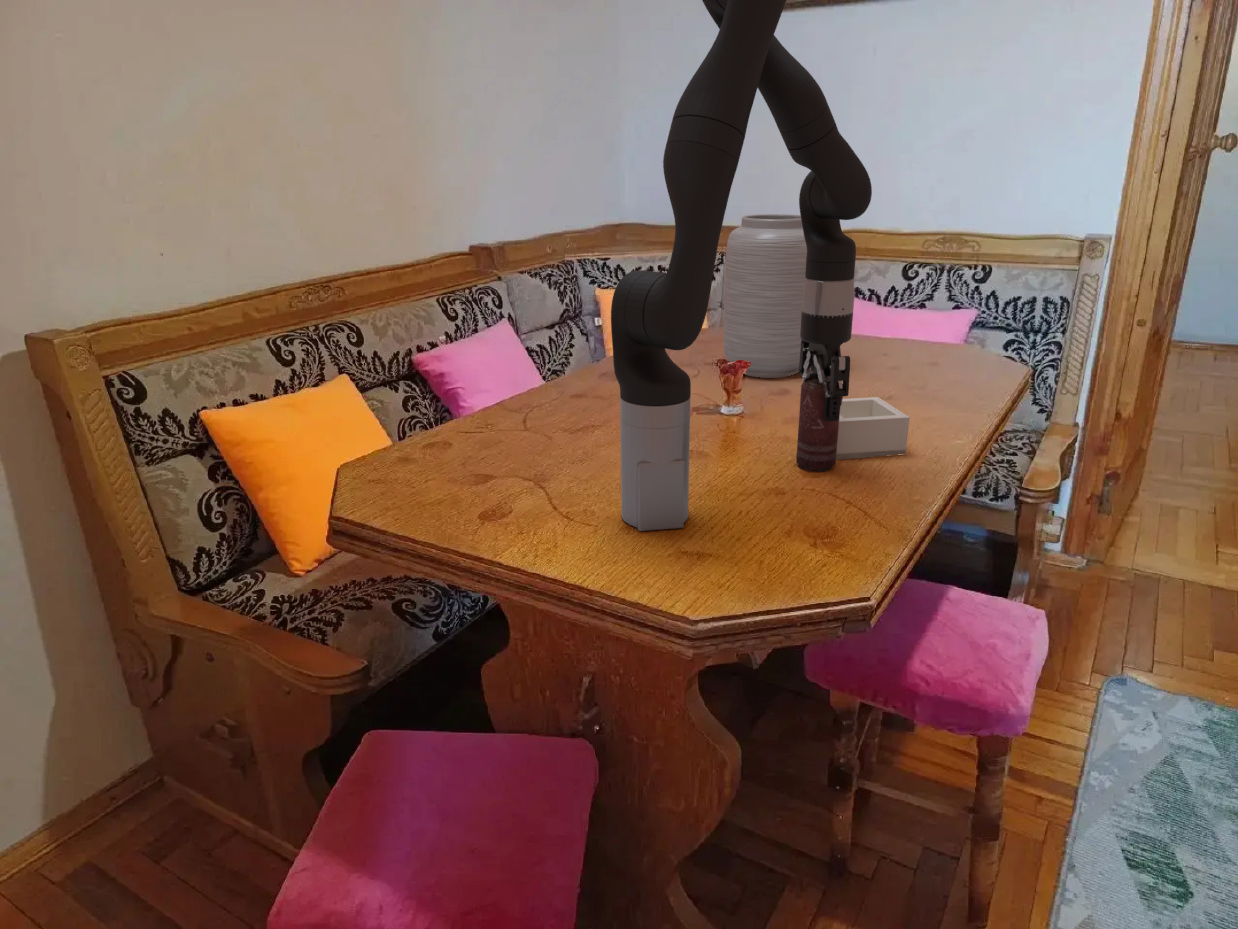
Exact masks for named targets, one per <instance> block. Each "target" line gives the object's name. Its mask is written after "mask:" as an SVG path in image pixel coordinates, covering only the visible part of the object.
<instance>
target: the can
mask: <svg viewBox="0 0 1238 929" xmlns="http://www.w3.org/2000/svg"><path fill="white" fill-rule="evenodd" d="M829 386H830V384H829ZM842 388H843V383H842ZM799 399H800V400H799V413H798V414H799V415H798V416H799V417H798V426H797V427H798V428H797V429H798V430H797V443H796V444H797V445H796V459H795V460H796V464H797V466H798V467H799V468H800V469H802V470H803V471H804V470H805V471H809V472H814V473H815V472H816V473H817V472H818V473H820V472H821V473H823V472H827V471H831V470H832V469H833V468H834V467H835V466H836V462H837V460H836V452H837V440H838V428H839V419H838V420H837V421H829V422H827V421H825V420H824V419H823V415H824V400H825V393H824V387H823V385H822V384H820V383H819V378H818V377H809V378H806V379H804V381H802V383H801V386H800V398H799ZM842 399H844V396H843V397H841V398H840V406H841V405H842ZM839 416H840V410H839Z"/></svg>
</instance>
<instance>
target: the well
mask: <svg viewBox="0 0 1238 929" xmlns="http://www.w3.org/2000/svg"><path fill="white" fill-rule="evenodd" d="M910 421H911V420H910V416H908V415H906V414H905V413H903V412H902V411H901V410H899V409H897V408H896V407H894V406H893V405H892V404H890V403H888V402H886V401H884V400H883V399H881V398H880V397H878V396H874V397H873V396H872V397H856V398H855V397H853V398H852V397H851V398H843V399H842V405H841V406H840V416H839V428H838V440H837V452H836V461H837V460H838V461H839V460H850V459H851V460H852V459H866V458H867V457H870V458H877V457H876V456H885V457H888V456H887V455H898V454H905V455H906V454H907V443H908V436H909V428H910V427H909V426H910Z"/></svg>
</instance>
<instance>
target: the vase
mask: <svg viewBox="0 0 1238 929" xmlns="http://www.w3.org/2000/svg"><path fill="white" fill-rule="evenodd" d="M725 251H726V253H725V267H724V268H725V269H724V270H725V273H724V274H725V275H724V294H723V296H724V297H723V299H724V301H723V303H724V304H723V334H722V335H723V336H722V338H723V351H724V352H723V353H724V356H725V357H726V360H727V361H728V362H729V361H730V362H733V361H736V360H745V361H749V362H751V365H750V367H749V368H748V369H747V371H746V374H745V375H744V376H748V377H753V378H759V377H760V378H761V379H779V378H780V379H781V378H787V376H788V377H792V376H795V375H796V374H799V361H800V349H801V337H800V329H801V311H802V295H803V288H804V283H805V278H806V277H805V272H806V257H807V246H806V242H805V238H804V233H803V227H802V221H801V215H800V214H786V213H785V214H784V213H783V214H782V213H780V214H777V213H776V214H775V213H774V214H773V213H772V214H771V213H770V214H769V213H767V214H750V215H744V216H742V218H741V224H740V226H739V227H737V228H734V229H733V230H732V231H731V232H730V234H729V236H728V238H727V241H726V250H725ZM730 362H729V363H730ZM794 374H795V375H794ZM791 375H792V376H791Z"/></svg>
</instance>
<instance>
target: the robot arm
mask: <svg viewBox="0 0 1238 929" xmlns="http://www.w3.org/2000/svg"><path fill="white" fill-rule="evenodd" d="M701 1H702V3H703V5H704V7H705V8H706V10H707V12H708V13H709V15H710V17H711V18H712V20H713V21H714V23H715V25H716V27H718V29H719V30H718V33H717V35H716V37H715V40H714V42H713V43H712V46H711V48H709V50H708V52H707V54H706V56H705V57H704V59H703V61H702V62H701V63H700V65H699V66H698V68H697V70H696V71H695V73H694V74H693V75H692V77H691V79H690V80H689V82H688V83H687V86H686V87H685V88H684V91H683V93H682V94H681V96H680V98H679V100H678V103H677V104H676V107H675V110H674V113H673V115H672V120H671V123H670V127H669V131H668V136H667V140H666V144H665V149H664V153H663V160H662V165H663V166H662V168H663V175H664V176H663V177H664V181H665V185H666V190H667V193H668V197H669V200H670V201H669V202H670V205H671V208H672V213H673V218H674V228H675V229H674V231H675V232H674V242H673V246H672V252H671V257H670V261H669V265H668V269H667V272H661V271H654V270H653V271H652V270H641V269H639V270H632V271H631V272H628V273H626V274H625V275H623V277H621V278H620V280H619V282H618V283H617V284H616V287H615V289H614V292H613V296H612V298H611V307H610V327H611V328H610V331H611V344H612V359H613V370H614V375H615V378H616V380H617V382H618V386H619V395H620V396H619V397H620V398H619V399H620V402H619V403H620V404H619V406H620V408H619V409H620V410H619V411H620V487H621V488H620V489H621V490H620V491H621V517H622V520H623V522H624V523H626V524H628V525H630V526H632V527H634V528H636V529H637V530H638V531H639V532H645V531H657V530H668V529H670V530H671V529H683V528H684V527H685V526H684V525H685V524H684V523H686V521H687V520H688V519H689V500H690V499H689V497H690V495H689V494H690V491H689V490H690V486H689V485H690V484H689V483H690V442H691V440H690V437H691V436H690V435H691V427H690V426H691V398H692V397H691V396H692V392H691V391H692V390H691V389H692V386H691V384H692V383H691V378H690V376H689V375H688V373H687V372H686V371H685V370H684V369H683V368H681V367H680V366H679V365H678V364H676V363H675V362H674V361H673V360H672V359H671V357H670V356H669V354H668V352H667V351H666V350H671V351H682V350H683V351H684V350H686V349H687V348H689V347H690V346H692V345H693V344H694V342H695V341H696V340H697V338H698V337H699V335H700V332H701V331H702V329H703V326H704V322H705V320H706V316H707V311H708V306H709V301H710V296H711V292H712V284H713V280H714V279H713V278H714V271H715V266H716V265H715V264H716V259H717V254H718V253H717V252H718V246H719V240H720V235H721V231H722V228H723V224H724V218H725V213H726V210H727V206H728V202H729V197H730V193H731V190H732V185H733V182H734V179H735V175H736V171H737V169H738V166H739V161H740V158H741V153H742V149H743V147H744V146H743V145H744V144H745V143H744V141H745V138H746V134H747V129H748V123H749V119H750V115H751V111H752V108H753V104H754V101H755V98H756V95H757V90H758V92H760V94H761V96H762V98H763V99H764V100H763V101H764V102H765V103H766V105H767V107H768V109H769V111H770V114H771V115H772V118H773V119H774V122H775V124H776V126H777V129H778V130H779V133H780V135H781V138H782V140H783V142H784V144H785V147H786V149H787V151H788V154H789V155H790V157H791V159H792V160H793V162H795V163H796V164H797V165H800V166H802V167H804V168H806V169H808V170H810V171H809V172H808V173H807V175H806V176H805V177H804V179H803V181H802V184H801V186H800V191H799V198H798V201H799V203H798V204H799V206H798V207H799V215H801V221H802V227H803V233H804V238H805V242H806V246H807V257H806V272H805V277H806V278H805V283H804V288H803V295H802V311H801V329H800V337H801V349H800V361H799V371H798V374H799V375H802V376H801V377H802V382H804V379H806V378H809V377H818V378H819V383H820V384H822V385H823V387H824V393H825V400H824V415H823V419H824V420H825V421H827V422H829V421H837V420H838V419H839V410H840V398H841V397H843V398H844V397H848V396H849V389H850V372H851V357H850V355H842V354H841V346H842V345H843V344H844V343H845V344H846V343H847V342H849V341H850V340H851V339H852V331H853V320H854V318H853V317H854V306H855V305H854V304H855V274H856V273H855V272H856V259H857V258H856V256H857V246H856V242H855V240H854V239H853V238H851V237H850V236H848V235H846V234H844V232H843V230H842V225H841V221H850V220H855V219H857V218H860V217H861V216H862V215H864V213H865V212H866V211H867V209H868V208H869V206H870V204H871V200H872V194H873V191H872V189H873V188H872V183H871V178H870V175H869V172H868V171H867V168H866V167H865V165H864V164H863V163H862V161H861V160H860V158H859V156H858V155H857V154H856V152H855V151H854V149H853V148H852V147H851V145H850V144H849V143H848V142H847V140H846V139H845V138H844V137H843V135H842V133H840V131H839V128H838V127H837V123H836V120H835V118H834V116H833V113H832V110H831V108H830V106H829V104H828V101H827V98H826V96H825V94H824V92H823V90H822V88H821V87H820V85H819V83H818V82H817V81H816V79H815V78H814V77H813V75H812V74H811V73H810V72H809V71H808V69H806V68H805V67H804V65H802V64H801V63H800V62H799V61H798V60H797V59H796V58H795V57H794V56H793V55H792V54H791V53H790V52H789V51H788V49H787V48H786V47H785V46H784V45H783V44H782V43H781V42H780V41H779V39H778V38H777V37H776V36H775V32H776V30H777V28H778V24H779V21H780V19H781V17H782V13H783V11H784V8H785V6H786V2H787V0H701ZM840 220H841V221H840ZM829 384H830V386H829ZM842 384H843V388H842Z"/></svg>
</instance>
